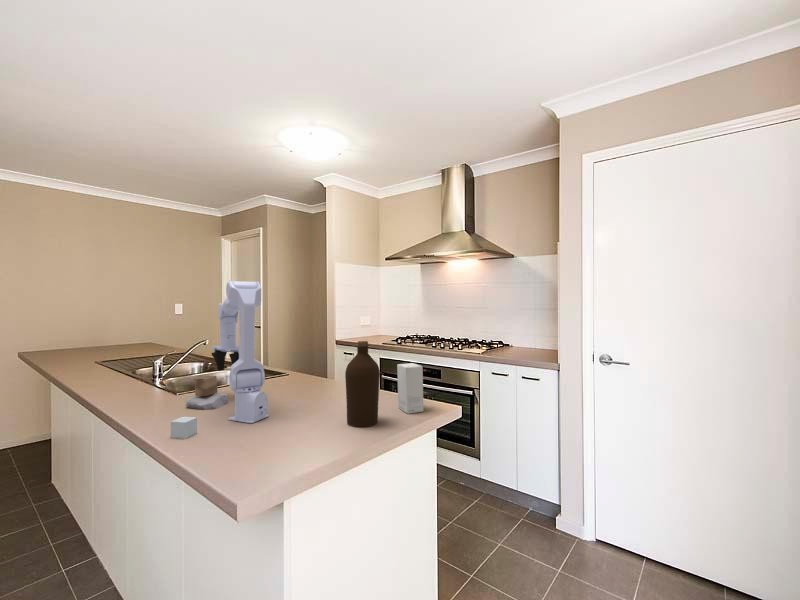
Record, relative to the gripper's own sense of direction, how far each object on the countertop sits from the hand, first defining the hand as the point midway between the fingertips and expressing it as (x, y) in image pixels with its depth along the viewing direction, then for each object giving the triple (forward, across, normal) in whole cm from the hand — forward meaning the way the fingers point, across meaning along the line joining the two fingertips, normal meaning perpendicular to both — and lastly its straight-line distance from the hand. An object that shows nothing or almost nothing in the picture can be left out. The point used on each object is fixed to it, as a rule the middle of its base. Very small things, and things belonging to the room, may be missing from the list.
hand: (228, 371), depth 146 cm
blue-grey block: (+10, +21, -33) cm, 41 cm away
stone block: (+11, +1, -10) cm, 15 cm away
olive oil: (+11, +60, -2) cm, 61 cm away
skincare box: (+11, +68, +16) cm, 71 cm away
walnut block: (+7, 0, -9) cm, 11 cm away
